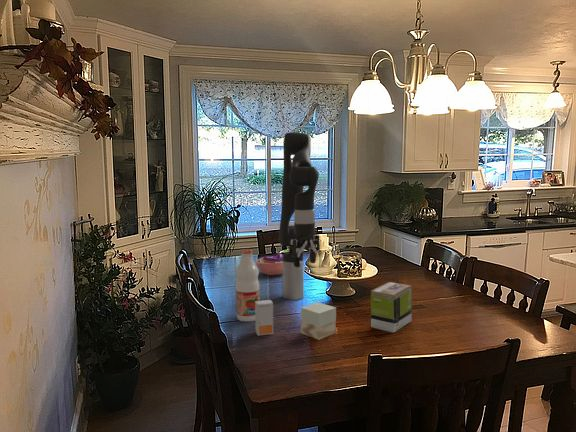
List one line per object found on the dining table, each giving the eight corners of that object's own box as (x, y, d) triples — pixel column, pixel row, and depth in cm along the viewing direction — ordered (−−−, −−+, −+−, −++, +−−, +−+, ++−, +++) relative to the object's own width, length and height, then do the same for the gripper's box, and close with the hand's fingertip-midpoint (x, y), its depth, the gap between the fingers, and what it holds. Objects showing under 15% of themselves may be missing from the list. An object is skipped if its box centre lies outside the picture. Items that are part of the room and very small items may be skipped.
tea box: (388, 316, 194) (389, 280, 192) (412, 321, 188) (412, 285, 186) (369, 327, 183) (370, 289, 181) (394, 333, 177) (394, 294, 175)
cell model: (251, 273, 266) (250, 252, 264) (284, 268, 274) (284, 249, 273) (262, 280, 251) (262, 259, 249) (297, 275, 259) (297, 255, 258)
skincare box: (257, 336, 176) (257, 304, 174) (255, 332, 180) (254, 301, 178) (274, 334, 177) (273, 302, 176) (271, 330, 181) (270, 299, 180)
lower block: (301, 333, 178) (300, 320, 178) (317, 327, 184) (317, 314, 184) (318, 340, 172) (318, 327, 171) (335, 333, 178) (335, 320, 177)
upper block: (301, 320, 177) (301, 307, 177) (318, 314, 184) (318, 302, 183) (319, 327, 171) (319, 313, 170) (336, 320, 177) (336, 307, 176)
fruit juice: (245, 312, 201) (243, 246, 197) (264, 316, 197) (263, 248, 193) (232, 319, 193) (229, 251, 189) (251, 323, 189) (249, 253, 185)
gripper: (309, 218, 184) (310, 260, 186) (283, 222, 174) (284, 266, 176) (324, 220, 179) (325, 263, 181) (298, 224, 169) (299, 270, 171)
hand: (304, 264), depth 179 cm, fingers open, 8 cm apart
